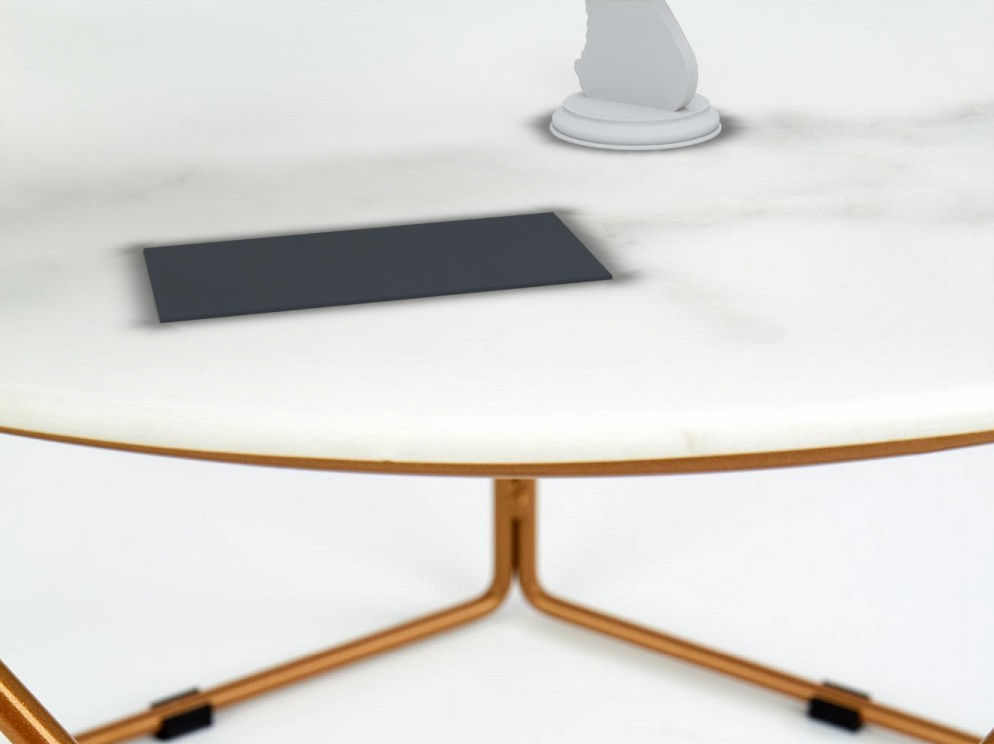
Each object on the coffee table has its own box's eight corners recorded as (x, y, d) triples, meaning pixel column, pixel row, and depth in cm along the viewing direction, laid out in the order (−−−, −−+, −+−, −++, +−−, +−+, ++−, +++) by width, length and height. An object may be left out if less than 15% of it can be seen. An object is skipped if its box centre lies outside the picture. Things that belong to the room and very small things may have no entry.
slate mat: (161, 332, 73) (159, 318, 72) (144, 260, 81) (143, 247, 80) (612, 288, 77) (612, 275, 76) (553, 223, 85) (553, 211, 84)
